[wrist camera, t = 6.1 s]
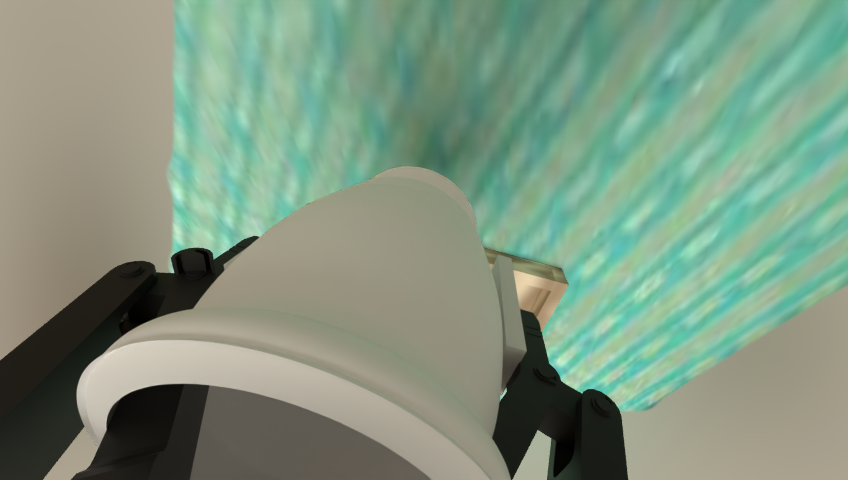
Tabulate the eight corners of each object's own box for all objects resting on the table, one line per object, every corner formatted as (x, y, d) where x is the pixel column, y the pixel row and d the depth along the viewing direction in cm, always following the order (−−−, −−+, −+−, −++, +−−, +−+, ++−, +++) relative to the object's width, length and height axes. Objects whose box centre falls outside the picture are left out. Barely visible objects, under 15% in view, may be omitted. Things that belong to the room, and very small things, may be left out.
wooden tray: (561, 268, 39) (568, 284, 36) (512, 359, 48) (514, 378, 45) (434, 234, 39) (430, 247, 36) (408, 330, 48) (404, 347, 45)
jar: (481, 302, 22) (481, 631, 9) (345, 282, 23) (171, 545, 10) (507, 154, 17) (596, 417, 4) (331, 139, 18) (-55, 298, 5)
